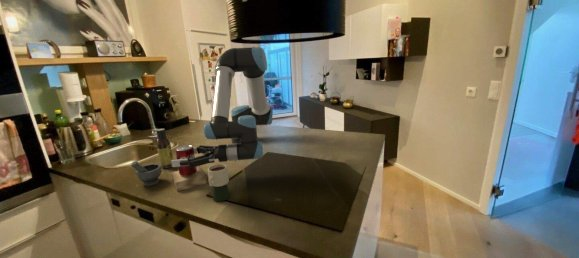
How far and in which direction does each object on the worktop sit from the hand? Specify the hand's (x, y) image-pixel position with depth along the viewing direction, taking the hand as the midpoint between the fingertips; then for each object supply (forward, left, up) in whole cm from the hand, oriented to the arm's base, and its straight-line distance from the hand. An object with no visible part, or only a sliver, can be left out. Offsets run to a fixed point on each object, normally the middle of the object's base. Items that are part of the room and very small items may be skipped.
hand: (177, 157), depth 102 cm
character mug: (-10, +24, -12) cm, 29 cm away
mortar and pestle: (+12, -9, -12) cm, 19 cm away
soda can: (-3, +1, -8) cm, 9 cm away
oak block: (-3, +1, -12) cm, 12 cm away
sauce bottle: (+3, -24, -12) cm, 27 cm away
